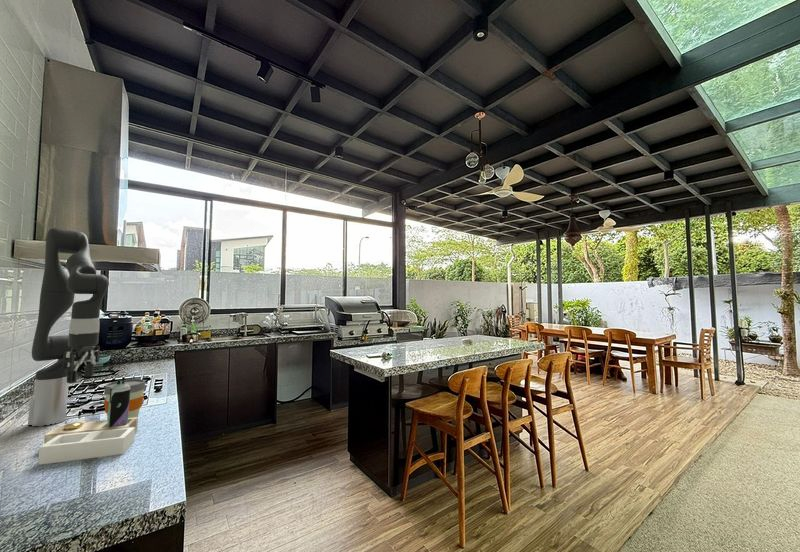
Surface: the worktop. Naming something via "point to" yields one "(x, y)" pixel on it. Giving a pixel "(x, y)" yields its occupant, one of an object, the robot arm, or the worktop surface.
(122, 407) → the spray can
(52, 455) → the frame
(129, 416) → the reusable coffee cup
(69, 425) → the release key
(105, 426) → the socket block
